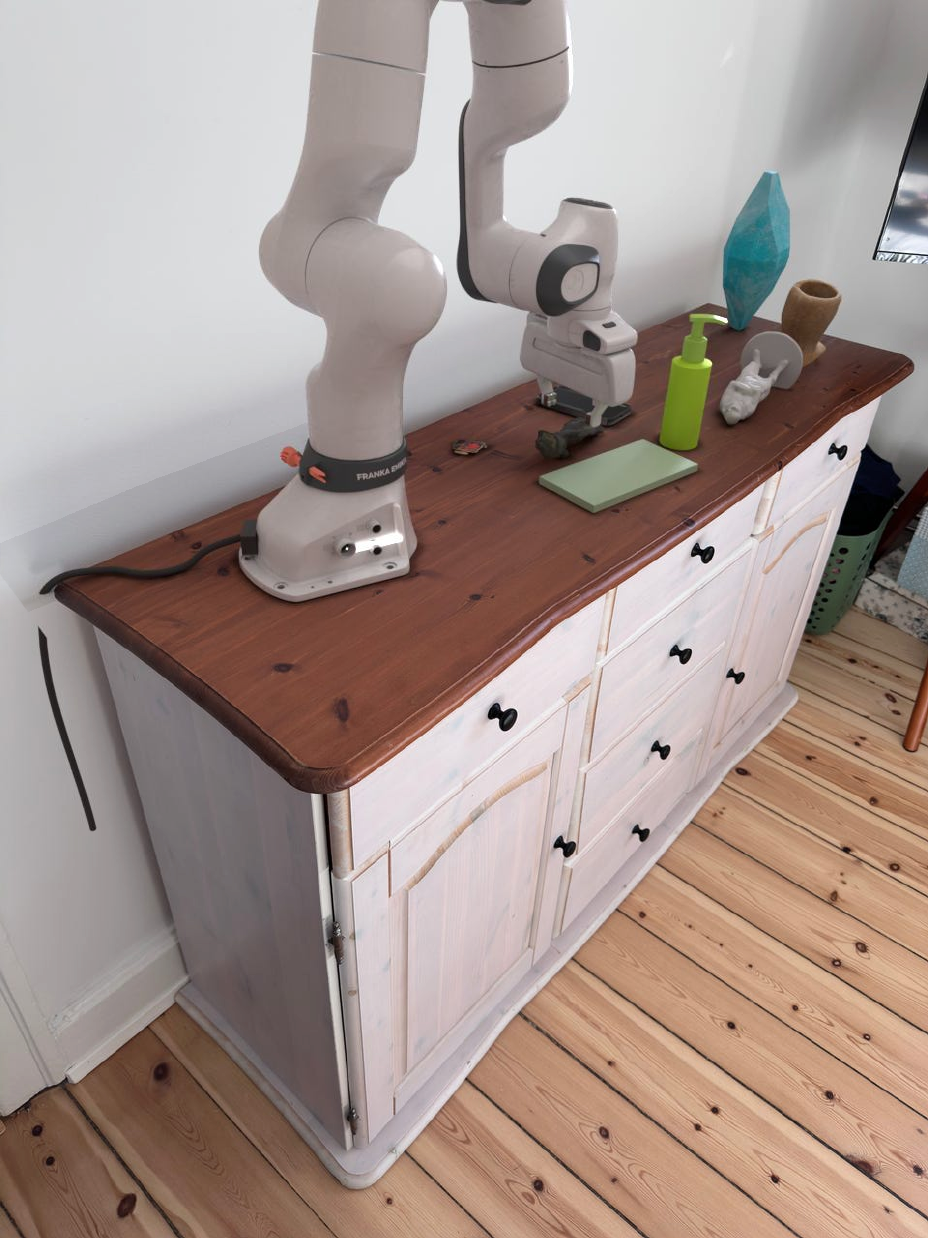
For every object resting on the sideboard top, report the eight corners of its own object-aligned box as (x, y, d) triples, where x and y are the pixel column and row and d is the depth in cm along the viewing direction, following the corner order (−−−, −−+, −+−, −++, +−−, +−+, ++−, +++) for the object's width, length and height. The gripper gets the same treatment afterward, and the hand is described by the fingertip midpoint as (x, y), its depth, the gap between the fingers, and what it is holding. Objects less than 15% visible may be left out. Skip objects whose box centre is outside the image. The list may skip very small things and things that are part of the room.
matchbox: (455, 440, 144) (455, 437, 144) (488, 443, 143) (488, 441, 143) (449, 453, 140) (450, 450, 140) (483, 456, 140) (483, 453, 139)
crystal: (781, 326, 196) (816, 171, 179) (753, 341, 187) (787, 180, 170) (728, 313, 202) (757, 163, 185) (699, 328, 193) (726, 171, 176)
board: (593, 513, 126) (594, 505, 125) (538, 483, 133) (539, 476, 132) (696, 471, 138) (698, 463, 137) (641, 445, 145) (642, 438, 144)
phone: (558, 384, 162) (634, 406, 154) (558, 390, 162) (633, 412, 155) (533, 397, 156) (610, 420, 149) (533, 403, 157) (609, 426, 150)
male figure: (811, 335, 161) (764, 385, 144) (799, 387, 167) (753, 442, 150) (749, 322, 165) (697, 370, 149) (740, 374, 171) (688, 425, 155)
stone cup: (809, 378, 171) (829, 296, 162) (749, 363, 177) (766, 282, 168) (839, 358, 180) (860, 279, 172) (782, 344, 186) (799, 267, 178)
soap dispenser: (703, 452, 143) (728, 323, 131) (658, 448, 144) (679, 319, 132) (703, 437, 148) (727, 311, 136) (659, 433, 149) (679, 307, 137)
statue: (572, 444, 150) (519, 467, 134) (573, 410, 148) (519, 429, 132) (609, 447, 147) (559, 471, 131) (610, 412, 145) (560, 432, 129)
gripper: (512, 307, 135) (508, 397, 143) (615, 346, 122) (604, 443, 130) (544, 299, 138) (538, 388, 146) (647, 336, 125) (634, 431, 133)
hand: (570, 414), depth 138 cm, fingers open, 8 cm apart
